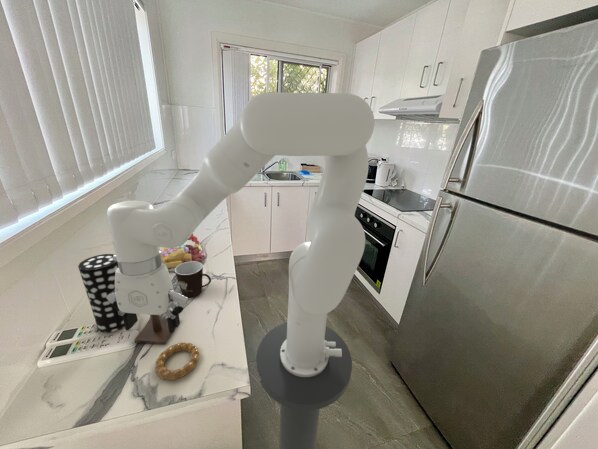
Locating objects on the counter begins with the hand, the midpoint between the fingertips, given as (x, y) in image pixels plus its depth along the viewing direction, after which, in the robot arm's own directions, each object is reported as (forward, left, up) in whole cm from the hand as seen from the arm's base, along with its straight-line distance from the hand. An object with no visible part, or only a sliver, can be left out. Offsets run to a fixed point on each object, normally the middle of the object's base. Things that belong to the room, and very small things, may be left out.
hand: (153, 326), depth 56 cm
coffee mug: (+3, -26, -11) cm, 29 cm away
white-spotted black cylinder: (+20, -12, -11) cm, 26 cm away
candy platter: (+21, -49, -11) cm, 54 cm away
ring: (-4, 0, -10) cm, 11 cm away
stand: (+6, -9, -11) cm, 15 cm away
